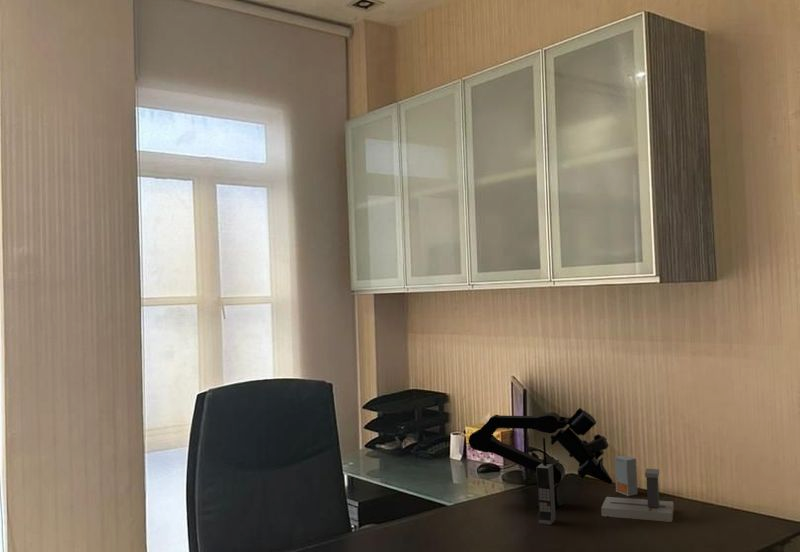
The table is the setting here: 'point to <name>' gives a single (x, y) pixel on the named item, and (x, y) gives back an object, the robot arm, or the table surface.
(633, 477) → the skincare box
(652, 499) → the fader tab
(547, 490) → the vintage mobile phone
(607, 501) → the block
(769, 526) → the table surface
